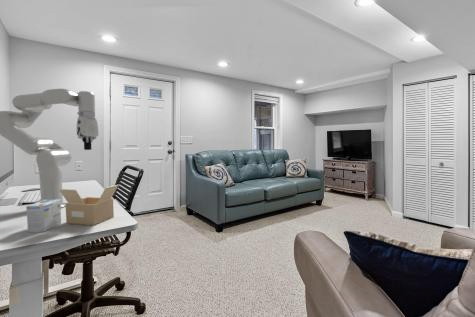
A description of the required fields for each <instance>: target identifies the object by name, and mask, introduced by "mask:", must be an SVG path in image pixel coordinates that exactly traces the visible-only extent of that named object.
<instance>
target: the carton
mask: <svg viewBox="0 0 475 317" xmlns="http://www.w3.org/2000/svg"><path fill="white" fill-rule="evenodd" d="M81 199H82V200H83V201H84V203H85V204H74V203H68V202H65V203H66V206H65V218H66V220H65V222H66V224H68V225H70V224H71V225H81V226H96V225H99V224H101V223H104V222H106V221H108V220H111V219H113V218H114V217H115V215H114V212H115V211H114V198H113V197H112V198H111V199H109V200H106V201H103V202H100V203H97V202H98V201H99V199H100V197H93V196H92V197H90V196H89V197H88V196H87V197H86V196H85V197H83V198H81Z"/></svg>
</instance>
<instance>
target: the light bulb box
mask: <svg viewBox="0 0 475 317" xmlns="http://www.w3.org/2000/svg"><path fill="white" fill-rule="evenodd" d="M25 208H26V222H27V223H26V224H27V232H28V233H44V232H45V233H46V232H47V231H48V230H51V229H52V228H54V227H57V226H58V225H60V224H62V211H61V210H62V208H61V207H60V199H56V200H43V201H40V202H37V201H36V202H35V203H32V204H29V205H26V206H25Z"/></svg>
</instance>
